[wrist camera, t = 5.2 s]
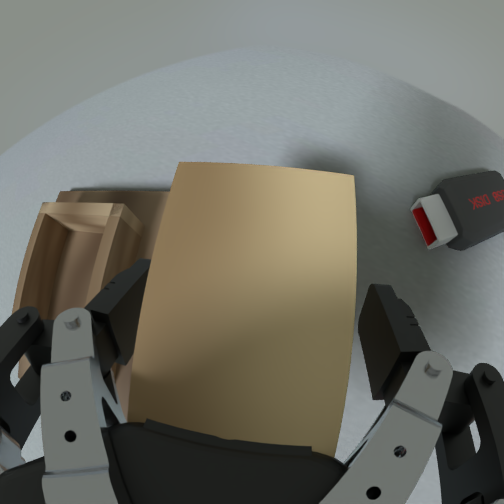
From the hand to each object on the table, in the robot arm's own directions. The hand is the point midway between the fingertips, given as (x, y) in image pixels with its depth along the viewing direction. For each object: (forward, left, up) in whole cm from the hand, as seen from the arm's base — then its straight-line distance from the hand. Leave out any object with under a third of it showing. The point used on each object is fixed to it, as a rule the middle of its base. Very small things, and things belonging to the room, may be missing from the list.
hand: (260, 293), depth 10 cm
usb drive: (-16, -9, -6) cm, 19 cm away
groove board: (+12, +1, -6) cm, 13 cm away
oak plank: (0, +1, -6) cm, 6 cm away
